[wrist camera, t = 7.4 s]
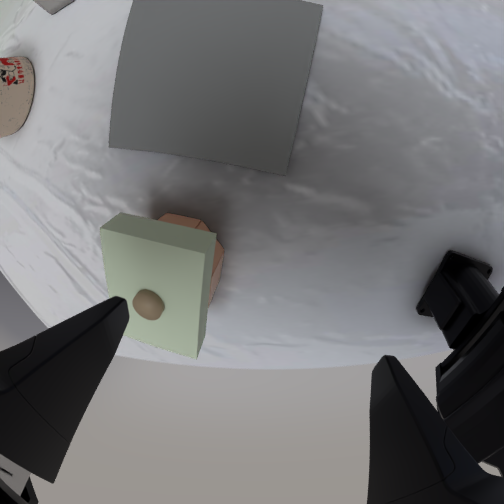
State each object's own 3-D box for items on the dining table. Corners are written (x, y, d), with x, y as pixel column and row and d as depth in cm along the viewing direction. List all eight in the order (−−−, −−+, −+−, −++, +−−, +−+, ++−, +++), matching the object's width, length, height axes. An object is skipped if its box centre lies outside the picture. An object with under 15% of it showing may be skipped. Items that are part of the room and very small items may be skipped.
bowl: (228, 226, 19) (215, 250, 16) (217, 297, 23) (206, 327, 20) (143, 207, 20) (119, 227, 17) (145, 278, 23) (126, 302, 20)
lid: (216, 233, 16) (201, 259, 13) (205, 336, 20) (194, 365, 18) (120, 212, 16) (94, 232, 13) (130, 313, 20) (113, 337, 18)
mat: (322, 8, 11) (323, 5, 11) (285, 174, 17) (285, 176, 17) (137, 1, 11) (133, -1, 11) (113, 146, 17) (108, 147, 17)
